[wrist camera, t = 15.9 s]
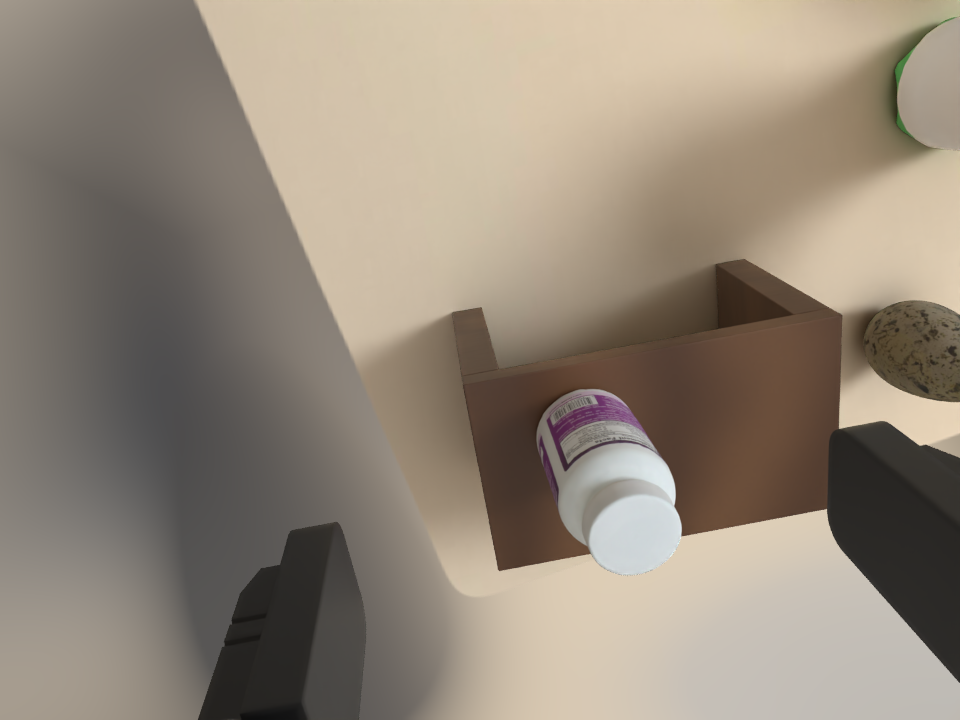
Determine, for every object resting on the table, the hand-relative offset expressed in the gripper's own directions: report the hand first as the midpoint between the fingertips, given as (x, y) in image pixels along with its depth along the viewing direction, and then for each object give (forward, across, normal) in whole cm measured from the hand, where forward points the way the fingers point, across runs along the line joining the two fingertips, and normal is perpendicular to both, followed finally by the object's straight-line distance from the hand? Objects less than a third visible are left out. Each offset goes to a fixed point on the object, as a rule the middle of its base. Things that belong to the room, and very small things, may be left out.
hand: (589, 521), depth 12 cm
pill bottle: (+24, -4, +12) cm, 27 cm away
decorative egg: (+36, -28, +15) cm, 48 cm away
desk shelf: (+36, -8, +14) cm, 40 cm away
